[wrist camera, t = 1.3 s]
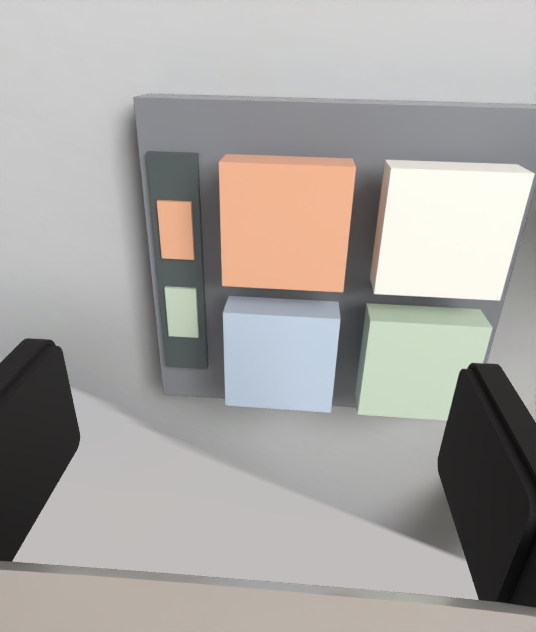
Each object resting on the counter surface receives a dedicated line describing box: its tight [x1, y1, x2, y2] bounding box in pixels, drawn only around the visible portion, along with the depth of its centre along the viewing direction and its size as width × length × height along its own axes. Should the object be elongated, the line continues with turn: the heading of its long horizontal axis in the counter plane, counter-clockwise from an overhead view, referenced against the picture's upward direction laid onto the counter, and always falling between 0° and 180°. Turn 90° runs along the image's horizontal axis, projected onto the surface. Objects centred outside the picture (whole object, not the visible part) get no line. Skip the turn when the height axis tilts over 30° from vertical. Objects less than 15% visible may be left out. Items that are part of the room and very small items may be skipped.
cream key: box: [370, 160, 535, 301], centre depth 23 cm, size 6×6×2 cm
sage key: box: [355, 303, 493, 421], centre depth 27 cm, size 6×6×2 cm
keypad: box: [133, 94, 536, 407], centre depth 28 cm, size 20×18×3 cm
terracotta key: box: [219, 154, 356, 292], centre depth 24 cm, size 6×6×2 cm
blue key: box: [223, 296, 340, 413], centre depth 27 cm, size 6×6×2 cm
